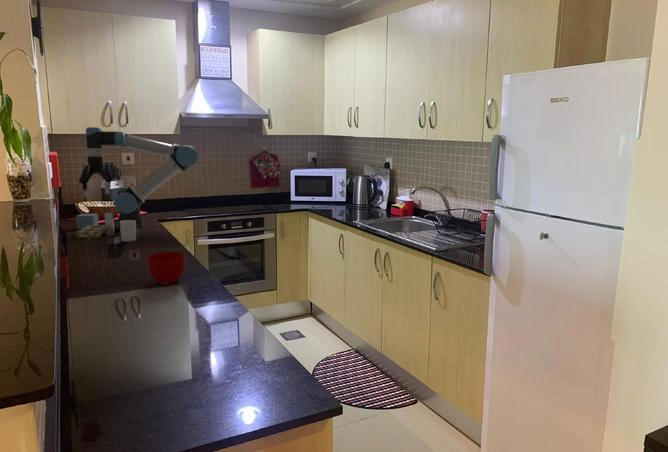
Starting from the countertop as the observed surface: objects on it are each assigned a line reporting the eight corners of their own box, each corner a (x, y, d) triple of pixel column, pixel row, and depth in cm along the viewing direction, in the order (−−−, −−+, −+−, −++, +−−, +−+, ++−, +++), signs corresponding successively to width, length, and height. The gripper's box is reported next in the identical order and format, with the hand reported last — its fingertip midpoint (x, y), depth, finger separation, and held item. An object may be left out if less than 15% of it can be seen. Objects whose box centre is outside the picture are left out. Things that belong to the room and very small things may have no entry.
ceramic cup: (167, 273, 196) (165, 248, 194) (192, 281, 185) (191, 255, 183) (136, 280, 186) (134, 254, 184) (161, 289, 175) (159, 262, 173)
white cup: (131, 242, 251) (130, 222, 250) (117, 241, 253) (116, 222, 251) (140, 239, 259) (139, 220, 257) (126, 238, 261) (125, 219, 259)
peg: (115, 233, 272) (114, 212, 270) (113, 235, 268) (112, 213, 265) (107, 234, 271) (105, 212, 269) (105, 235, 267) (103, 213, 265)
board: (108, 230, 282) (108, 225, 282) (98, 237, 263) (98, 231, 262) (88, 230, 280) (87, 225, 280) (76, 237, 261) (75, 232, 260)
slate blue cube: (98, 226, 293) (97, 213, 291) (93, 229, 284) (92, 215, 283) (82, 227, 291) (81, 213, 290) (77, 229, 282) (76, 216, 281)
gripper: (79, 156, 256) (82, 197, 260) (118, 155, 279) (120, 193, 283) (69, 156, 259) (72, 196, 263) (108, 155, 282) (110, 192, 286)
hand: (97, 195), depth 273 cm, fingers open, 13 cm apart
